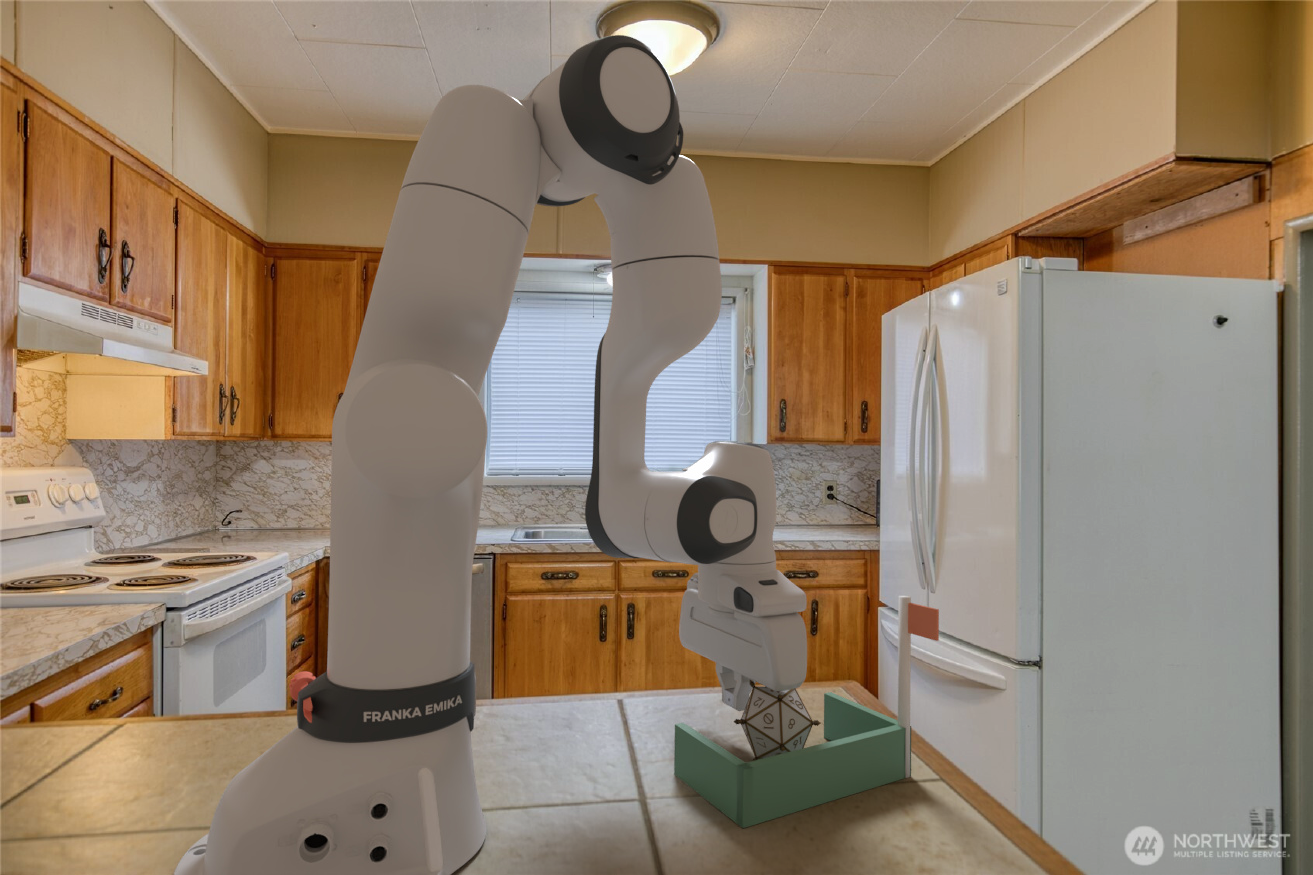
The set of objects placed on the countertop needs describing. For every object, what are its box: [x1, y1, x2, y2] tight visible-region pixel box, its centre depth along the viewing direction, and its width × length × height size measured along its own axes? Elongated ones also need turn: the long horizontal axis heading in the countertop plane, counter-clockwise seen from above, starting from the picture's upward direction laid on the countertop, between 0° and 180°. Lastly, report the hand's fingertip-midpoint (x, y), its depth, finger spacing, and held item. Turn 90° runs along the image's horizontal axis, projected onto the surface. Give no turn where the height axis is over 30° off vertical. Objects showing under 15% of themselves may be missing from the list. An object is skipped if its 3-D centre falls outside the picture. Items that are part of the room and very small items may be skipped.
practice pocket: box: [673, 595, 940, 829], centre depth 69 cm, size 21×15×18 cm
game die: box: [733, 679, 822, 761], centre depth 74 cm, size 9×8×10 cm
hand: (735, 706), depth 79 cm, fingers closed
